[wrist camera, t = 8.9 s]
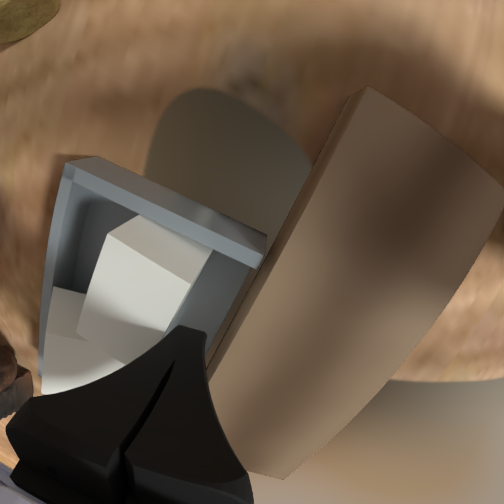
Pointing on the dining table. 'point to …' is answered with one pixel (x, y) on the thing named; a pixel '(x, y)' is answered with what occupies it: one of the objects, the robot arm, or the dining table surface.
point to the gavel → (24, 17)
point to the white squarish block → (70, 347)
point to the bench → (349, 282)
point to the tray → (159, 210)
